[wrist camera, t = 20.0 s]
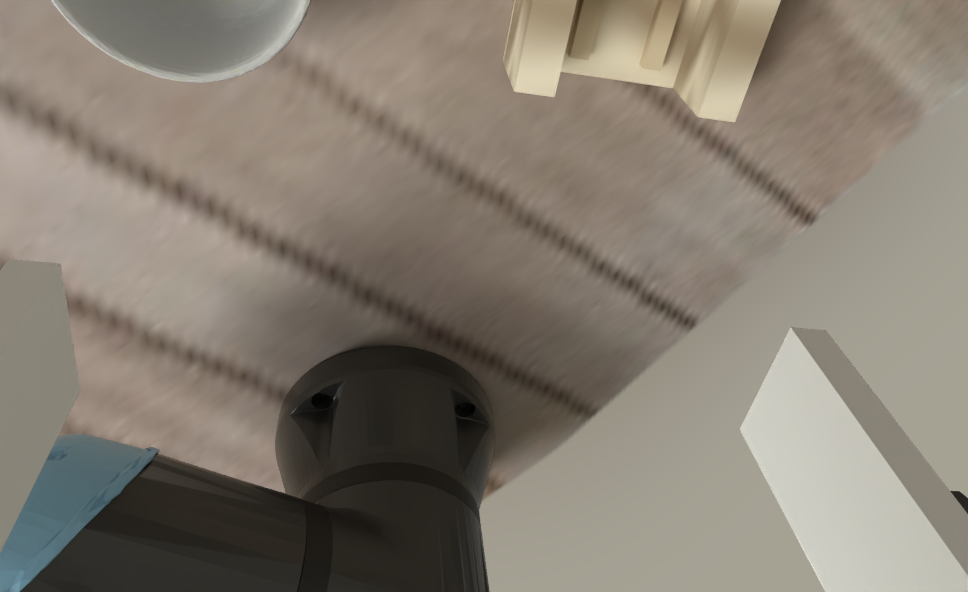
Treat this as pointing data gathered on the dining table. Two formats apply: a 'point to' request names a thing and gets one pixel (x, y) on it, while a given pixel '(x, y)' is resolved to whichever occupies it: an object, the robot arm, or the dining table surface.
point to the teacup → (187, 33)
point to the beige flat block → (642, 46)
